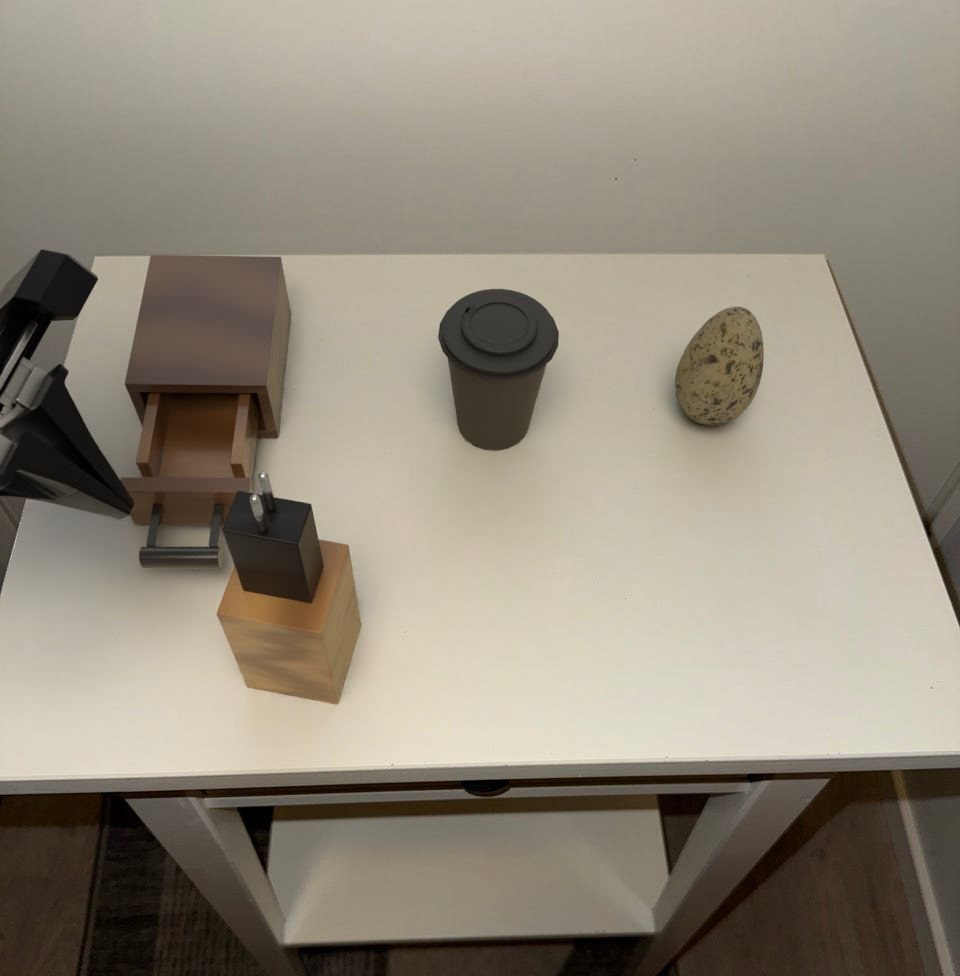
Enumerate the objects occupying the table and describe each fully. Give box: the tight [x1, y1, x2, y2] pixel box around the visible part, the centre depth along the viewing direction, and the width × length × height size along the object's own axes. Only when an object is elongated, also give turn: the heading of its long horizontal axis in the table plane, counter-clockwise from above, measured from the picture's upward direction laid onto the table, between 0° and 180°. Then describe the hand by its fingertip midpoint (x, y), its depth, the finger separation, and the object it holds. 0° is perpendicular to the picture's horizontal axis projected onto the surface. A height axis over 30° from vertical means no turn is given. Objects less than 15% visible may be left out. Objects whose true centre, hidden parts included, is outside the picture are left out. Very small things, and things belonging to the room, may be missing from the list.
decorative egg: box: [674, 306, 765, 427], centre depth 70 cm, size 6×6×10 cm
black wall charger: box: [222, 471, 324, 603], centre depth 52 cm, size 4×3×9 cm, turn 79°
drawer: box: [120, 392, 260, 569], centre depth 67 cm, size 16×8×4 cm, turn 1°
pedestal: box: [216, 538, 362, 705], centre depth 60 cm, size 6×6×10 cm
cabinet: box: [124, 254, 292, 439], centre depth 72 cm, size 13×10×6 cm
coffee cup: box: [437, 288, 560, 451], centre depth 69 cm, size 8×8×10 cm
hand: (128, 512), depth 53 cm, fingers closed
